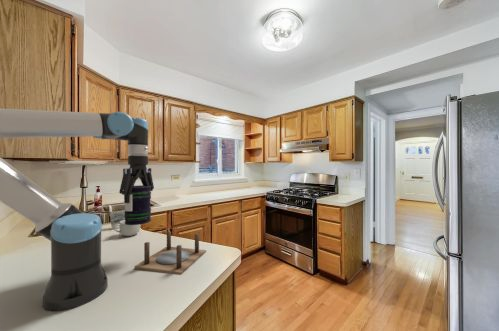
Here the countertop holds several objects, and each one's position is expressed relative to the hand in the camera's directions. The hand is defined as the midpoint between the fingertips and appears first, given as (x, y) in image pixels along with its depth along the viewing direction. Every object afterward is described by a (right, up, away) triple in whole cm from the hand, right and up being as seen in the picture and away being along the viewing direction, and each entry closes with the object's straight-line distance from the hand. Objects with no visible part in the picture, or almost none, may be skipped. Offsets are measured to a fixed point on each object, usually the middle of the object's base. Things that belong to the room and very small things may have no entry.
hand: (138, 208), depth 87 cm
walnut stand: (+15, -22, -1) cm, 27 cm away
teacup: (-23, -22, +31) cm, 45 cm away
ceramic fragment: (-38, -22, +47) cm, 64 cm away
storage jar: (0, -6, 0) cm, 6 cm away
